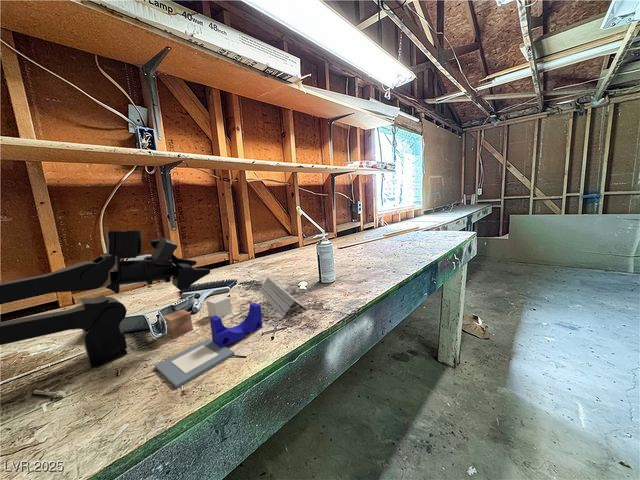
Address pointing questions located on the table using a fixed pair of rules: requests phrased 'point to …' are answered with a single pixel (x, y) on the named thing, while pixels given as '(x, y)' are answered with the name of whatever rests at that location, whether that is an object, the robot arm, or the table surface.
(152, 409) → the table surface
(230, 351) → the grey base plate
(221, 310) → the cream block
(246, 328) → the blue cradle bracket
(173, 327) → the terracotta block
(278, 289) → the corner bead
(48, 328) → the robot arm
